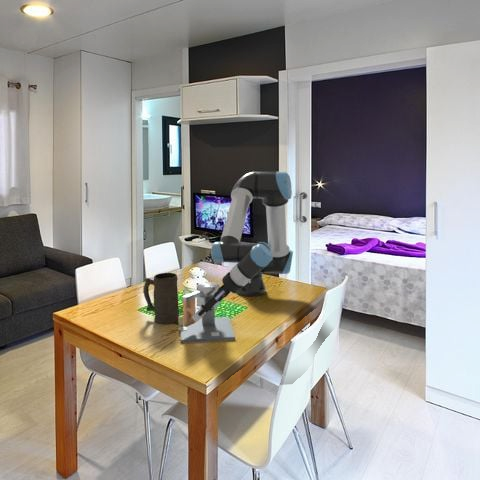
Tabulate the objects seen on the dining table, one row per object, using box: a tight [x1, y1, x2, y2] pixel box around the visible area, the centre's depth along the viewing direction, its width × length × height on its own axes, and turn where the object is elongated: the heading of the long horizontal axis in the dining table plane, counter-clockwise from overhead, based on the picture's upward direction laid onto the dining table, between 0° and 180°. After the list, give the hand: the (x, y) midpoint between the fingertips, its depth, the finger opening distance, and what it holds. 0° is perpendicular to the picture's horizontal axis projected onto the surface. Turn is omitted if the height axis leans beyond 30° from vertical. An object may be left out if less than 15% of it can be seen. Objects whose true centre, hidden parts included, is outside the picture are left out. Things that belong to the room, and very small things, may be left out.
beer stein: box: [143, 272, 180, 325], centre depth 172 cm, size 15×10×20 cm
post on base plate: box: [177, 298, 236, 344], centre depth 161 cm, size 21×20×13 cm
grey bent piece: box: [182, 281, 221, 327], centre depth 161 cm, size 18×9×13 cm, turn 144°
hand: (194, 319), depth 155 cm, fingers closed
